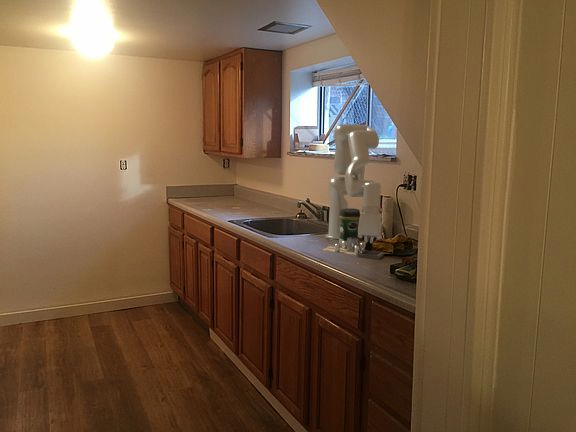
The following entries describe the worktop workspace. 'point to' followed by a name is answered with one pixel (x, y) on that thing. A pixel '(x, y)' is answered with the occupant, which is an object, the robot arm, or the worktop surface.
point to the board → (332, 249)
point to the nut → (351, 244)
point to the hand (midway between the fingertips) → (368, 251)
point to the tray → (370, 254)
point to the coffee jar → (348, 224)
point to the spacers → (344, 246)
